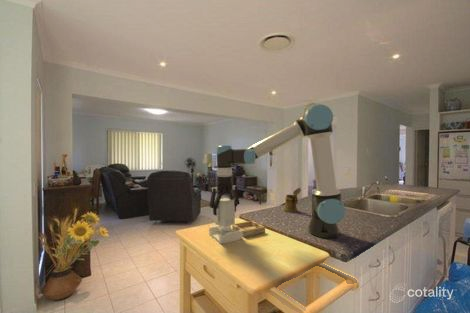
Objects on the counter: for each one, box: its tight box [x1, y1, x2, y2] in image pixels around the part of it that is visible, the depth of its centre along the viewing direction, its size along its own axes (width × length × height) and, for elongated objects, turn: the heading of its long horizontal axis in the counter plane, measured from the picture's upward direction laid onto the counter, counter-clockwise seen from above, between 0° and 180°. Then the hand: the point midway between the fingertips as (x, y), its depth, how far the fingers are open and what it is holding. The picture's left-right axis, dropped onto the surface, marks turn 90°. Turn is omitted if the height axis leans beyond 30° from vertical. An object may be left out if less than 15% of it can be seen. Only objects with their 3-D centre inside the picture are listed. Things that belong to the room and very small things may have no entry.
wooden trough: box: [231, 220, 266, 239], centre depth 122 cm, size 13×13×3 cm
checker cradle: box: [208, 224, 243, 245], centre depth 115 cm, size 14×12×5 cm
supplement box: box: [214, 197, 236, 227], centre depth 115 cm, size 7×7×13 cm
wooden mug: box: [283, 187, 302, 213], centre depth 160 cm, size 9×14×18 cm, turn 29°
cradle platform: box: [216, 226, 235, 233], centre depth 115 cm, size 9×6×1 cm, turn 29°
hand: (225, 219), depth 115 cm, fingers closed on supplement box, 9 cm apart
